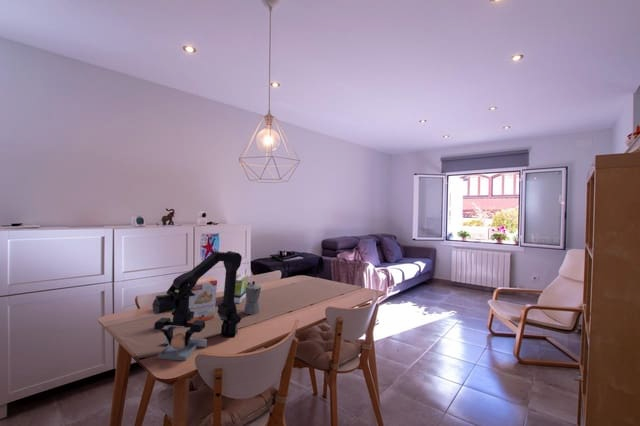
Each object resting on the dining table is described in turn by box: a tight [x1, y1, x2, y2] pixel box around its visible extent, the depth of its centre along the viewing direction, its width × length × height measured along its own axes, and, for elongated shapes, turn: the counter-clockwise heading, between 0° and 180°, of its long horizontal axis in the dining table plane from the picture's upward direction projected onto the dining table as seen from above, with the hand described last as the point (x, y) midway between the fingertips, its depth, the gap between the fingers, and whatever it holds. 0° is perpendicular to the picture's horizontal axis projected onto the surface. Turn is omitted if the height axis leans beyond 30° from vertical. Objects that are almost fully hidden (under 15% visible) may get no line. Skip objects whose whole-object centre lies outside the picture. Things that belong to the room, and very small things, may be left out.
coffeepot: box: [243, 281, 262, 315], centre depth 172 cm, size 15×9×18 cm, turn 33°
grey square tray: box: [157, 343, 198, 361], centre depth 122 cm, size 11×11×2 cm
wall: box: [164, 335, 208, 348], centre depth 128 cm, size 18×1×3 cm, turn 90°
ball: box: [171, 332, 185, 349], centre depth 122 cm, size 6×6×6 cm
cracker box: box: [188, 277, 218, 323], centre depth 155 cm, size 14×6×21 cm, turn 138°
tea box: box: [234, 273, 249, 304], centre depth 191 cm, size 15×10×15 cm
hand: (178, 345), depth 122 cm, fingers closed on ball, 6 cm apart
